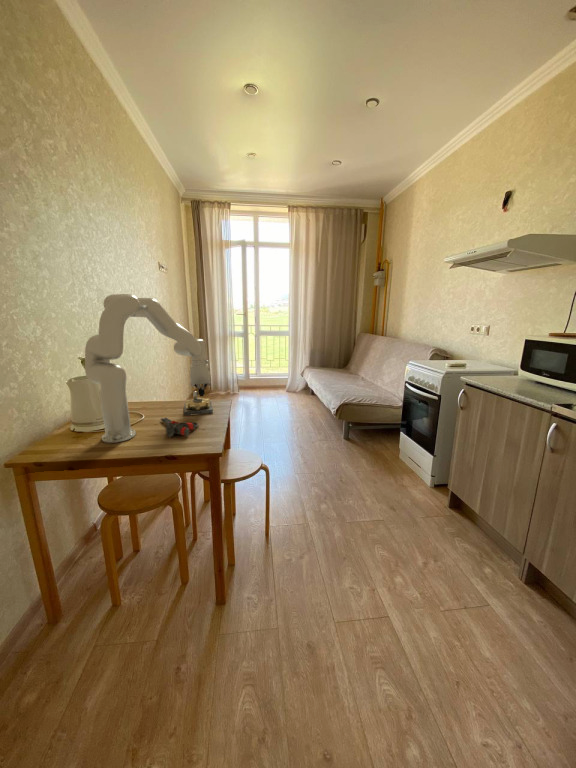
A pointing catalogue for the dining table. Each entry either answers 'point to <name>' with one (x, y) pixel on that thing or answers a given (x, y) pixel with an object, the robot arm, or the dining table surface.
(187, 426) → the grey red jointed piece
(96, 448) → the dining table surface
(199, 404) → the beige lumpy block
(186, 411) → the base plate
